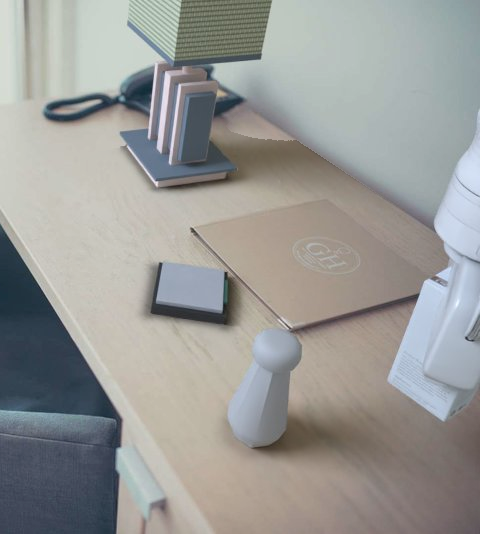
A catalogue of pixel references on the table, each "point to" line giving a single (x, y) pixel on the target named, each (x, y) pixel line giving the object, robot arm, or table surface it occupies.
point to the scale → (190, 292)
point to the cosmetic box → (413, 352)
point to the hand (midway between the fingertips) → (440, 353)
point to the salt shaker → (265, 389)
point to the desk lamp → (190, 81)
